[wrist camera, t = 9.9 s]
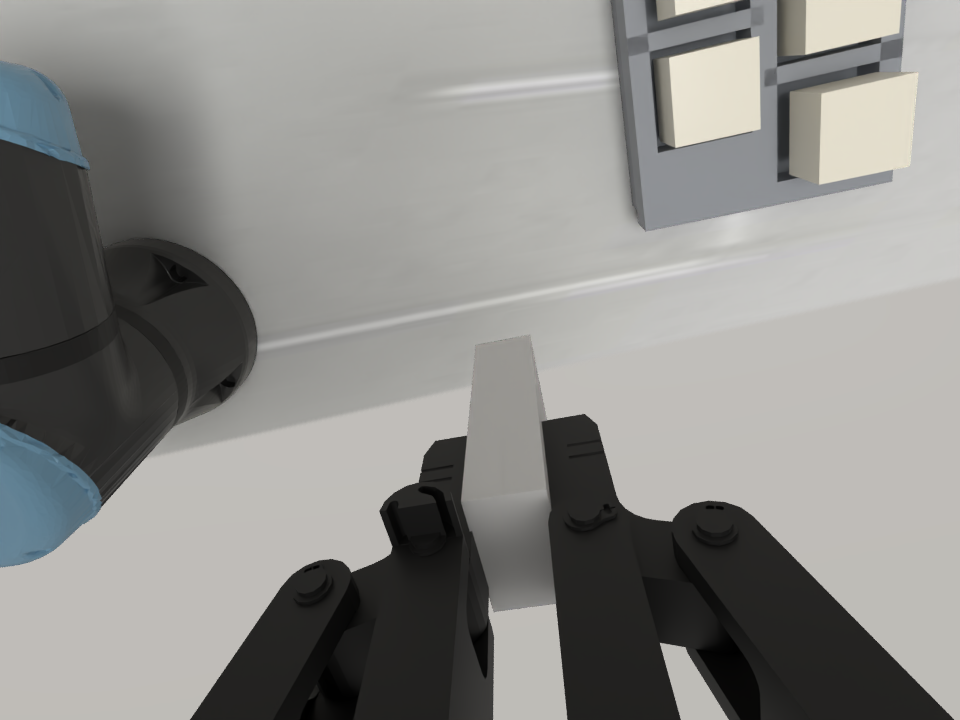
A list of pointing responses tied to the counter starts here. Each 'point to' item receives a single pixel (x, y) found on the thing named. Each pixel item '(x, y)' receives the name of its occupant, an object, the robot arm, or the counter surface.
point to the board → (738, 158)
